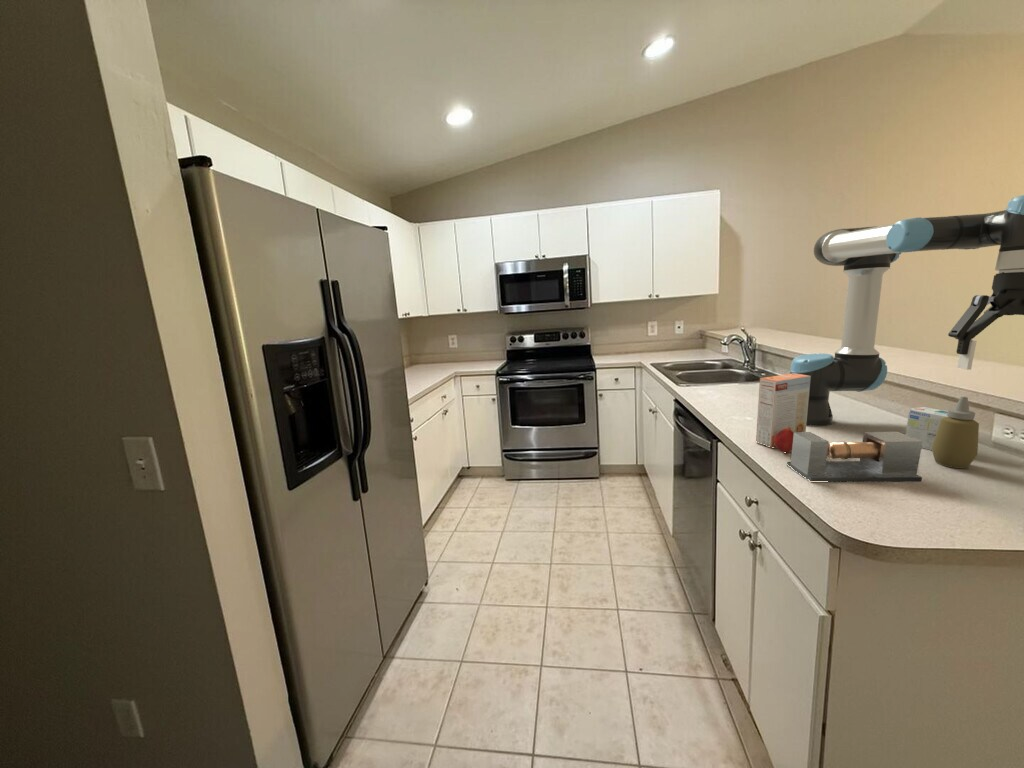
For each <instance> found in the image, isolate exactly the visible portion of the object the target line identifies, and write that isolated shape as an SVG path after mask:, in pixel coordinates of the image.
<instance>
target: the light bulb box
mask: <svg viewBox="0 0 1024 768" xmlns="http://www.w3.org/2000/svg"><path fill="white" fill-rule="evenodd" d="M947 412H948V410H944V409H937V408H932V407H928V406H921V407H913V408H909V410H908V417H907V420H906V421H907V422H906V428H905V435H907V436H910V437H913V438H915V439H918V440H921V441H923V442H922V447H921V449H926V450H929V451H932V448H931V447H932V444H933V441H934V438H935V435H936V432H937V430H938V427H939V424H940V421H941V419H942V418H944V417H948V416H947Z"/></svg>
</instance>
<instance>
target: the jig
mask: <svg viewBox="0 0 1024 768" xmlns="http://www.w3.org/2000/svg"><path fill="white" fill-rule="evenodd" d="M905 434H906V433H905ZM905 434H904V433H902V432H900V431H867V432H866V431H864V432H863V435H862V441H861V442H878V443H881V444H882V445H881V451H880V458H859V460H830V461H828V460H827V458H828V457H827V451H828V443H830V442H829V440H827V439H825V438H824V437H821V436H819V435H817V434H815V433H813V432H811V431H806V432H794V436H793V445H792V451H791V456H790V457H791V458H790V461H787V462H786V465H787V464H788V465H789V466H791V467H792V468H793V469H794V470H795V471H797V472H798V473H800V474H801V475H802V476H804V477H806V478H807V479H809V480H810V481H828V482H827V483H920V482H921V483H922V482H923V476H921V475H920V474H918V469H919V464H920V458H921V454H922V453H921V451H922V448H921V447H922V442H923V441H921V440H918V439H915V438H913V437H910V436H907V435H905ZM794 470H793V471H794ZM795 471H794V472H795ZM798 473H797V474H798ZM801 475H800V476H801ZM802 476H801V477H802ZM804 477H803V478H804Z"/></svg>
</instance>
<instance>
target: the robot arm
mask: <svg viewBox="0 0 1024 768" xmlns="http://www.w3.org/2000/svg"><path fill="white" fill-rule="evenodd" d="M994 246H999V249H998V254H997V259H996V264H995V267H994V268H995V269H994V270H995V271H997V272H998V273H995V274H994V275H993V280H992V286H991V290H992V294H991V295H986V294H985V295H982V294H980V295H979V294H977V295H974V296H973V297H972V298H971V302H970V305H969V306H968V308H967V309H966V310H965V311H964V313H963V314H962V316H961V317H960V318H959V320H957V322H956V323H955V324H954V326H953V327H952V328H951V330H950V331H949V332H948V334H947V335H948V336H949V337H950V338H954V339H955V340H957V347H956V354H957V355H959V356H958V361H957V362H958V363H957V367H956V368H957V369H962V370H963V369H964V370H967V371H968V370H970V371H971V370H972V367H973V360H974V356H975V351H976V346H977V340H973V339H975V337H976V336H978V335H979V334H980V333H982V332H983V331H984V330H985V329H986V328H987V327H990V325H991V324H993V323H994V322H995V321H996V320H998V319H999V318H1002V317H1003V316H1017V315H1019V316H1024V195H1019V196H1015V197H1013V198H1011V199H1010V200H1009V201H1008V204H1007V207H1006V208H1005V210H999V211H993V212H988V213H975V214H962V215H948V216H934V217H933V216H931V217H911V218H906V219H905V218H904V219H901V220H898V221H896V222H895V223H890V224H885V225H884V224H883V225H876V226H875V225H874V226H865V227H853V228H851V227H850V228H839V229H834V230H831V231H827V232H825V233H824V234H822V235H821V236H820V237H819V238H818V239H817V240H816V242H815V244H814V247H813V255H814V257H815V259H816V260H817V262H819V263H822V264H823V265H826V266H830V267H831V266H833V267H842V266H843V271H842V272H843V273H844V274H846V275H847V287H846V288H847V289H846V297H845V308H844V314H843V316H844V317H843V325H842V327H843V328H842V337H841V345H840V347H839V348H838V349H836V350H835V352H834V355H833V354H830V353H809V354H807V353H806V354H801V355H798V356H796V357H794V358H793V359H792V360H791V361H792V362H791V364H790V368H789V372H790V373H789V374H792V373H796V374H802V375H808V376H811V379H810V390H809V401H808V412H807V423H806V426H814V427H817V426H818V427H820V426H822V427H823V426H829V425H832V424H833V420H834V419H833V418H834V417H833V412H832V407H831V405H830V402H829V401H830V400H829V398H830V392H857V393H858V392H864V391H874V390H876V389H877V388H879V387H880V386H882V385H883V383H884V382H885V380H886V378H887V374H888V366H887V365H886V361H885V360H884V359H883V358H881V357H880V352H879V351H878V350H877V349H876V348H875V343H876V335H877V325H878V317H879V308H880V302H881V301H880V300H881V292H882V286H883V285H882V282H883V276H884V274H885V273H886V272H888V270H889V269H891V264H892V263H894V262H895V261H897V260H898V259H899V257H900V255H901V254H902V253H912V252H913V253H914V252H925V251H940V250H978V249H980V248H988V247H994ZM988 305H991V306H990V307H988V308H987V306H988ZM986 308H987V309H986ZM985 309H986V310H985ZM982 313H983V314H982ZM981 314H982V315H981ZM980 315H981V316H980Z"/></svg>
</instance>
